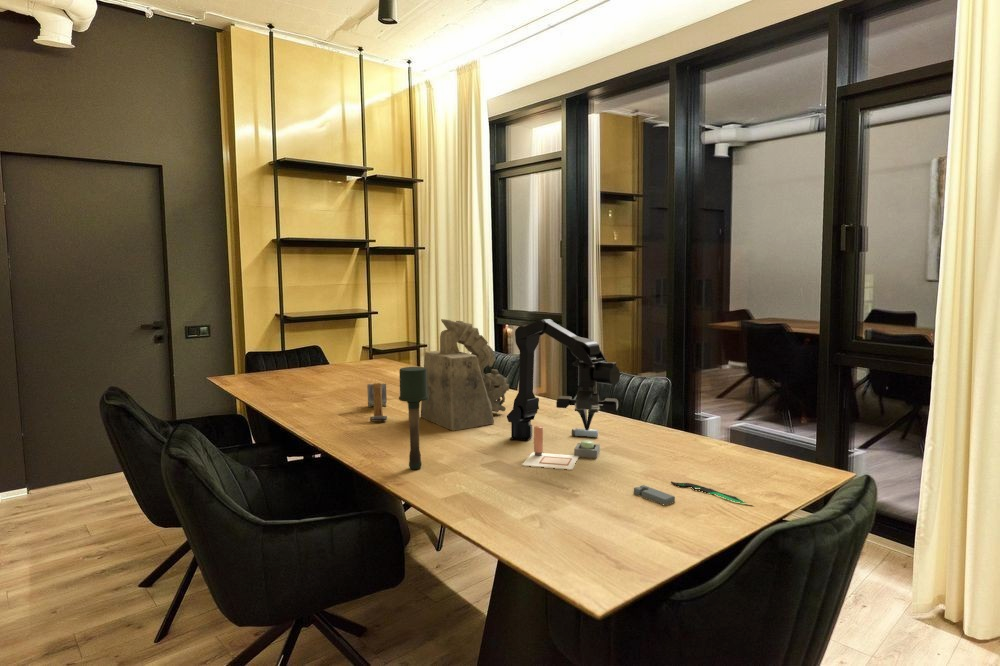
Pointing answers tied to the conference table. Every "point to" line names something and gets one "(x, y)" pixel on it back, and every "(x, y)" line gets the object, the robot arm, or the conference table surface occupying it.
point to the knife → (708, 491)
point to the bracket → (654, 495)
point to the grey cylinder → (585, 432)
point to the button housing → (587, 451)
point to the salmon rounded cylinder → (538, 440)
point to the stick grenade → (413, 406)
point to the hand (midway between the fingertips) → (587, 430)
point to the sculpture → (462, 380)
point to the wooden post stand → (377, 400)
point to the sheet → (551, 461)
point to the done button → (587, 444)
